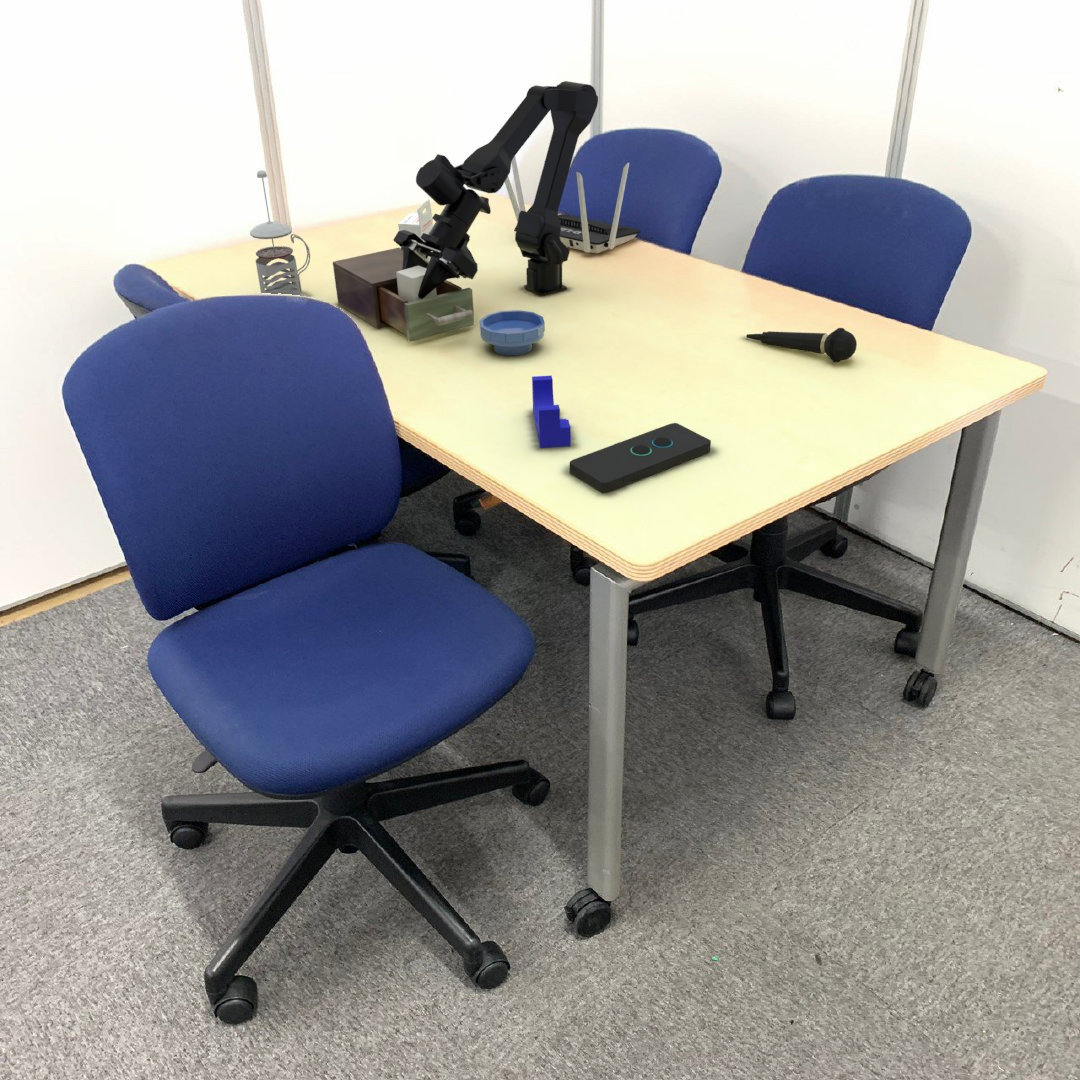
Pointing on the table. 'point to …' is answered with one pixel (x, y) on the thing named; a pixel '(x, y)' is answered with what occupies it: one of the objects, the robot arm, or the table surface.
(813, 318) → the table surface
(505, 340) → the blue bowl
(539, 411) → the blue stepped block
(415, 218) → the ink cartridge box
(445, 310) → the drawer
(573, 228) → the wireless router
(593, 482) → the smart home device
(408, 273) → the white block
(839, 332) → the microphone
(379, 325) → the cabinet
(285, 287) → the french press
